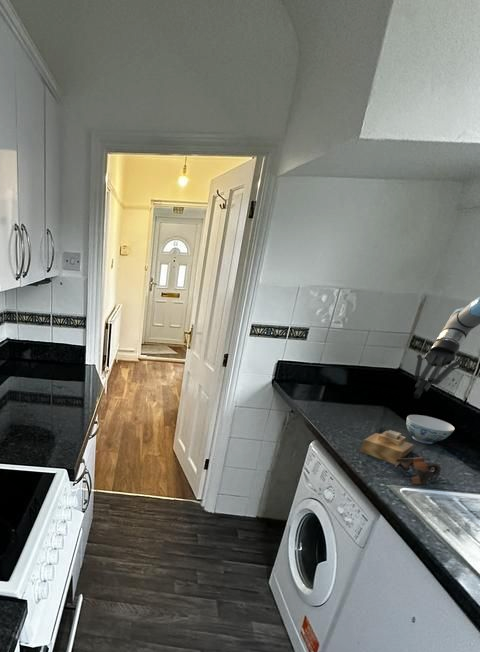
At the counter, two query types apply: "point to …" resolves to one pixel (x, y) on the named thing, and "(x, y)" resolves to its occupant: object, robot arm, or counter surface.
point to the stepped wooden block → (386, 447)
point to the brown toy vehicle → (418, 468)
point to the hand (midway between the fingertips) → (416, 396)
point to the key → (393, 434)
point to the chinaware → (428, 428)
